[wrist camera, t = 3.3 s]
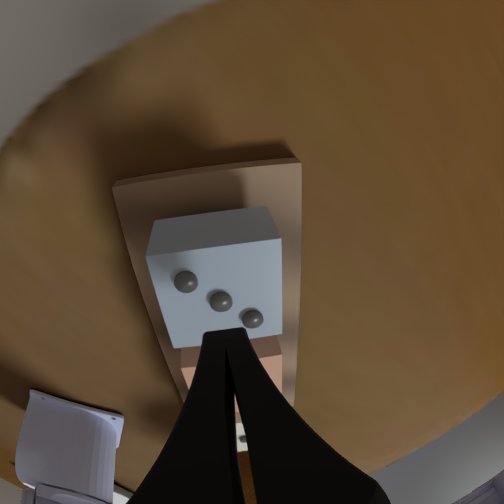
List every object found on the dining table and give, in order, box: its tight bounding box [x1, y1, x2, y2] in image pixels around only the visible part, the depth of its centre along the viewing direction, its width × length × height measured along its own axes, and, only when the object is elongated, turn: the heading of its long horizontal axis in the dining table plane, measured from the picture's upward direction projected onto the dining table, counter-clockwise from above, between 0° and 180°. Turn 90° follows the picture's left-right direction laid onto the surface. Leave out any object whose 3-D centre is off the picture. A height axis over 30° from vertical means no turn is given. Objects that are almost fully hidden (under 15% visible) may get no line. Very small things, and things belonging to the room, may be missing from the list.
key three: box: [145, 206, 282, 348], centre depth 14 cm, size 5×5×3 cm
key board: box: [112, 157, 302, 407], centre depth 19 cm, size 21×9×3 cm, turn 4°
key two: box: [181, 335, 282, 412], centre depth 17 cm, size 5×5×3 cm
